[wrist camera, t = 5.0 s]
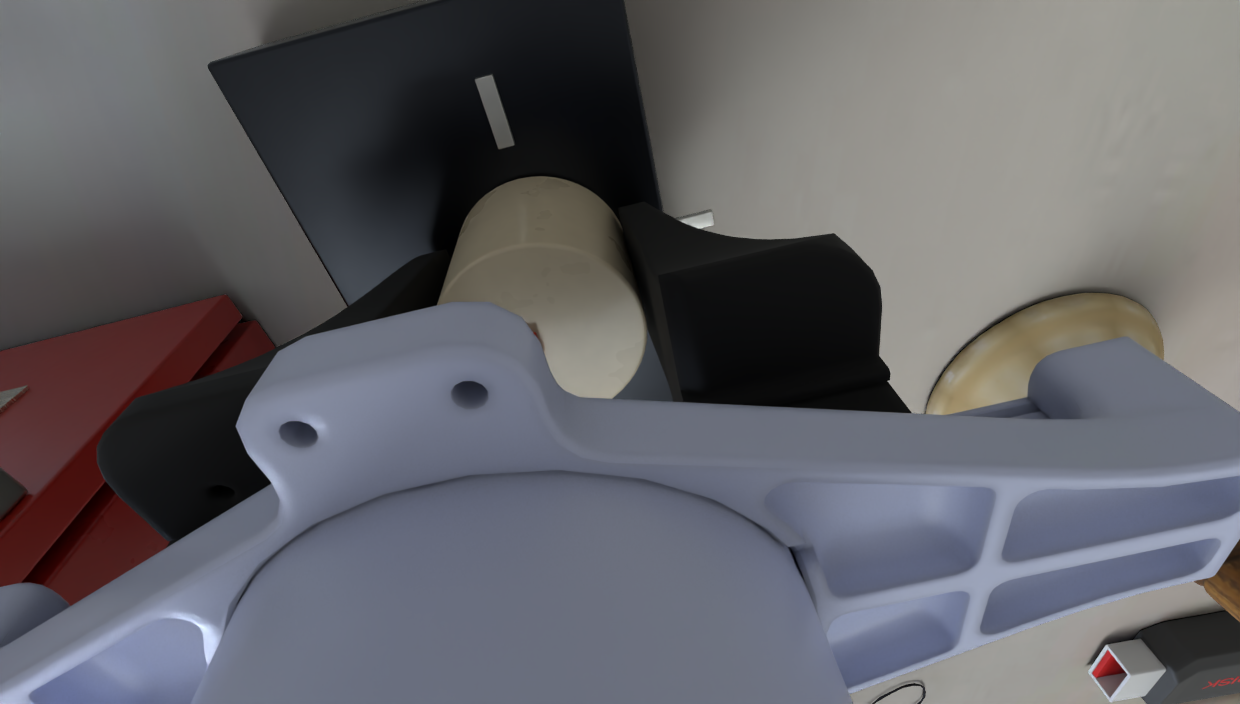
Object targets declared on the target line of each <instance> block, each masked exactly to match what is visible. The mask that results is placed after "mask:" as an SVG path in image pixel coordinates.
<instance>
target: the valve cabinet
mask: <svg viewBox="0 0 1240 704" xmlns="http://www.w3.org/2000/svg"><path fill="white" fill-rule="evenodd" d="M273 349H275V346H274V345H273V343H272V342H271V340H270V339H269V338H268V336H267V335H266V333H265V332H264V331H263V329H262V328H261V326H260V325H259V323H258V322H257V321H256V320H252V321H248V322H244V323H240V324H237V325H236V326H235V327H234V328H233V329H232V331H231V332H230V333H229V334H228V335H227V337H226V338H225V339H224V340H223V341H222V343H221V344H220V345H219V346H218V347H217V349H216V350H215V351H214V352H213V353H212V355H211V356H210V357H209V358H208V359H207V361H206V362H205V363H204V364H203V365H202V367H201V368H200V369H199V370H198V371H197V373H196V374H195V375H194V376H193V377H192V379H191V380H190V381H189V382H191V381H194V380H197V379H200V378H203V377H206V376H209V375H212V374H215V373H217V372H220V371H223V370H225V369H228V368H231V367H233V366H236V365H239V364H241V363H243V362H246V361H248V360H251V359H253V358H256V357H258V356H260V355H262V354H265V353H267V352H269V351H271V350H273ZM169 542H170V541H167V540H166V539H164V538H163V537H162V536H161V535H160V534H159V533H158V532H157V531H156V530H155V529H154V528H152V527H151V526H150V525H149V524H148V523H147V522H146V521H145V520H144V519H143V518H142V517H140V516H139V515H138V514H137V513H136V512H135V511H134V510H133V509H132V508H131V507H130V506H129V505H127V504H126V503H125V502H124V501H123V500H122V499H121V498H120V497H119V496H118V495H117V494H116V493H115V492H114V491H113V489H112V488H111V487H110V486H109V485H108V484H107V482H105V483H104V484H103V485H102V486H101V488H100V489H99V490H98V491H97V492H96V494H95V495H94V496H93V497H92V498H91V500H90V501H89V502H88V503H87V504H86V506H85V507H84V508H83V509H82V510H81V512H80V513H79V514H78V515H77V516H76V518H75V519H74V520H73V521H72V522H71V524H70V525H69V526H68V527H67V528H66V530H65V531H64V532H63V533H62V534H61V536H60V537H59V538H58V539H57V540H56V542H55V543H54V544H53V545H52V546H51V548H50V549H49V550H48V551H47V552H46V554H45V555H44V556H43V557H42V558H41V560H40V561H39V562H38V563H37V564H36V566H35V567H34V568H33V569H32V570H31V572H30V573H29V574H28V575H27V576H26V578H25V579H24V580H23V581H22V582H21V583H35V584H40V585H43V586H45V587H47V588H49V589H52V590H53V591H55V592H56V593H57V594H59V595H60V596H61V597H62V598H63V599H65V600H66V601H67V602H68V603H69V605H70V606H72V605H73V604H75V603H77V602H78V601H80V600H82V599H83V598H85V597H86V596H88V595H90V594H91V593H93V592H95V591H96V590H98V589H100V588H101V587H103V586H104V585H106V584H108V583H109V582H111V581H113V580H114V579H116V578H118V577H119V576H121V575H123V574H124V573H126V572H127V571H129V570H131V569H132V568H134V567H136V566H137V565H139V564H141V563H142V562H144V561H145V560H147V559H149V558H150V557H152V556H154V555H155V554H157V553H159V552H160V551H162V550H163V549H165V548H166V547H167V545H168V544H169Z"/></svg>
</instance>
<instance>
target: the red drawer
mask: <svg viewBox="0 0 1240 704" xmlns="http://www.w3.org/2000/svg"><path fill="white" fill-rule="evenodd" d="M241 319H242V315H241V313H240V312H239V311H238V309H237V308H236V307H235V305H234V304H233V302H232V301H231V300H230V298H229V297H228V295H220V296H216V297H212V298H209V299H205V300H201V301H197V302H193V303H189V304H185V305H181V306H177V307H173V308H169V309H165V310H161V311H157V312H153V313H149V314H145V315H141V316H137V317H133V318H129V319H126V320H122V321H118V322H114V323H110V324H106V325H102V326H98V327H94V328H90V329H86V330H82V331H78V332H74V333H70V334H66V335H62V336H58V337H54V338H50V339H46V340H43V341H39V342H35V343H31V344H27V345H23V346H19V347H15V348H11V349H7V350H3V351H0V587H3V586H7V585H12V584H17V583H21V582H22V581H23V580H24V579H25V578H26V576H27V575H28V574H29V573H30V572H31V570H32V569H33V568H34V567H35V566H36V564H37V563H38V562H39V561H40V560H41V558H42V557H43V556H44V555H45V554H46V552H47V551H48V550H49V549H50V548H51V546H52V545H53V544H54V543H55V542H56V540H57V539H58V538H59V537H60V536H61V534H62V533H63V532H64V531H65V530H66V528H67V527H68V526H69V525H70V524H71V522H72V521H73V520H74V519H75V518H76V516H77V515H78V514H79V513H80V512H81V510H82V509H83V508H84V507H85V506H86V504H87V503H88V502H89V501H90V500H91V498H92V497H93V496H94V495H95V494H96V492H97V491H98V490H99V489H100V488H101V486H102V485H103V484H104V483H105V482H106V481H105V480H104V478H103V475H102V473H101V471H100V469H99V466H98V464H97V445H98V443H99V441H100V439H101V437H102V435H103V433H104V432H105V431H106V430H107V429H108V427H109V426H110V425H111V424H112V423H113V422H114V421H115V420H116V419H117V418H118V417H119V416H120V414H121V413H122V412H123V411H124V410H125V409H126V408H127V407H128V406H129V405H130V404H131V402H132V401H133V400H134V399H135V398H137V397H140V396H144V395H148V394H151V393H155V392H158V391H161V390H165V389H168V388H171V387H174V386H178V385H181V384H184V383H187V382H189V381H190V380H191V379H192V377H193V376H194V375H195V374H196V373H197V371H198V370H199V369H200V368H201V367H202V365H203V364H204V363H205V362H206V361H207V359H208V358H209V357H210V356H211V355H212V353H213V352H214V351H215V350H216V349H217V347H218V346H219V345H220V344H221V343H222V341H223V340H224V339H225V338H226V337H227V335H228V334H229V333H230V332H231V331H232V329H233V328H234V327H235V326H236V325H237V323H238V322H239V321H240V320H241Z"/></svg>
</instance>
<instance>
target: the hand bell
mask: <svg viewBox="0 0 1240 704" xmlns="http://www.w3.org/2000/svg"><path fill="white" fill-rule="evenodd" d="M1119 337H1129V338H1131V339H1132V340H1134V341H1135V342H1137V343H1138V344H1140V345H1141V346H1143V347H1144V348H1146V349H1147V350H1149V351H1150V352H1152V353H1153V354H1155V355H1156V356H1157V357H1159V358H1160V359H1162V360H1163V361H1164V346H1163V338H1162V335H1161V332H1160V330H1159V327H1158V325H1157V323H1156V321H1155V319H1154V318H1153V317H1152V315H1151V314H1150V313H1149V312H1148V310H1146V309H1145V308H1144V307H1143V306H1142V305H1140V304H1139V303H1137V302H1135V301H1133V300H1130V299H1128V298H1126V297H1123V296H1119V295H1114V294H1107V293H1080V294H1074V295H1068V296H1063V297H1058V298H1054V299H1051V300H1047V301H1043V302H1041V303H1038V304H1036V305H1033V306H1031V307H1028V308H1026V309H1024V310H1022V311H1020V312H1017V313H1015V314H1014V315H1012V316H1010V317H1008V318H1007V319H1005V320H1004V321H1002V322H1001V323H999V324H997V325H995V326H993V327H992V328H990V329H989V330H988V331H986V332H985V333H983V334H982V335H980V336H979V337H978V338H977V339H975V340H974V341H973V342H972V343H970V344H969V345H968V346H967V347H966V348H965V349H963V350H962V351H961V352H960V353H959V354H958V355H957V357H956V358H955V359H954V361H953V362H952V363H951V364H950V365H949V366H948V367H947V369H946V370H945V371H944V373H943V375H942V376H941V378H940V379H939V381H938V383H937V384H936V386H935V388H934V390H933V392H932V394H931V397H930V399H929V401H928V405H927V410H926V414H934V415H948V414H953V413H957V412H962V411H966V410H971V409H975V408H980V407H985V406H989V405H994V404H998V403H1003V402H1007V401H1012V400H1016V399H1021V398H1025V397H1027V394H1028V383H1029V380H1030V376H1031V373H1032V372H1033V370H1034V368H1035V366H1036V364H1037V363H1039V362H1040V361H1041V360H1042V359H1043V358H1045V357H1046V356H1048V355H1050V354H1052V353H1055V352H1057V351H1061V350H1066V349H1070V348H1075V347H1079V346H1084V345H1088V344H1093V343H1097V342H1102V341H1106V340H1111V339H1115V338H1119ZM1194 582H1195V583H1197V584H1199V585H1201V586H1204V588H1205V590H1206V592H1207V593H1208V594H1209V595H1210V596H1211V597H1212V598H1213V599H1214V600H1215V601H1216V602H1218V603H1219V604H1220V605H1221V606H1222V607H1223V608H1224V609H1225V610H1227V611H1228V612H1229V613H1230V614H1231V615H1232V616H1233V617H1234V618H1236V619H1237V620H1238V621H1239V622H1240V539H1239V541H1238V542H1237V544H1236V545H1235V547H1234V548H1233V550H1232V551H1231V552H1230V554H1229V555H1228V557H1227V558H1226V560H1225V561H1224V563H1223V564H1222V566H1221V567H1220V569H1219V570H1218V572H1217V573H1216V575H1214V576H1213V577H1210V578H1206V579H1201V580H1196V581H1194Z"/></svg>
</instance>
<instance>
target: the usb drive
mask: <svg viewBox="0 0 1240 704" xmlns="http://www.w3.org/2000/svg"><path fill="white" fill-rule="evenodd" d="M1088 673H1089V674H1090V675H1091V677H1092V678H1093V680H1094V681H1095V682H1096V684H1097V685H1098V686H1099V688H1100V689H1101V690H1102V692H1103V693H1104V694H1105V696H1106V697H1107V698H1108V700H1109V701H1110V702H1114V701H1119V700H1125V699H1131V698H1137V697H1141V698H1142V699H1143V700H1144V701H1145V702H1146V703H1147V704H1178V703H1183V702H1189V701H1195V700H1201V699H1206V698H1212V697H1218V696H1224V695H1229V694H1235V693H1240V622H1239V621H1238V620H1237V619H1236V618H1234V617H1233V616H1232V615H1231V614H1230V613H1229V612H1228V611H1224V612H1219V613H1213V614H1207V615H1201V616H1196V617H1190V618H1184V619H1178V620H1173V621H1167V622H1163V623H1160V624H1157V625H1155V626H1152V627H1149V628H1147V629H1144V630H1141V631H1140V632H1139V633H1138V634H1137V636H1136V637H1135V639H1134V640H1130V641H1124V642H1119V643H1113V644H1107V645H1105V647H1104V648H1103V650H1102V651H1101V653H1100V654H1099V656H1098V657H1097V659H1096V660H1095V662H1094V663H1093V665H1092V666H1091V668H1090V669H1089V671H1088Z"/></svg>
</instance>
